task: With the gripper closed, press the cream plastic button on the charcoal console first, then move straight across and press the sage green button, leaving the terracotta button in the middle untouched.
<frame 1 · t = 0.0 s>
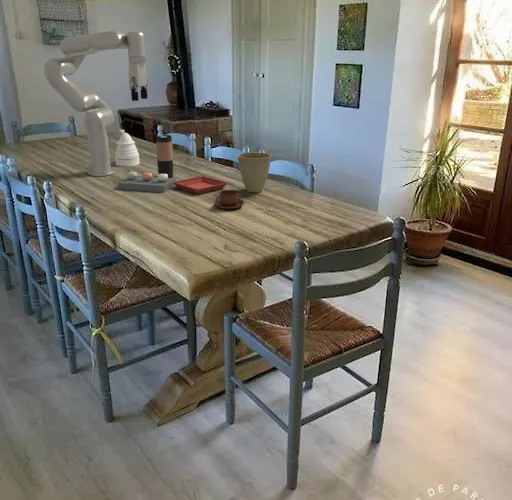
hand: (139, 99, 243), 37 cm above the table, tool pointing down, fingers open, 9 cm apart
cream button: (162, 177, 235), point 5 cm above the table, slide at 0.0 cm
travel mug: (166, 177, 256), on the table
honey pot: (127, 164, 284), on the table
sage button: (132, 175, 238), point 5 cm above the table, slide at 0.0 cm
plant pot: (254, 190, 234), on the table
plant saucer: (200, 189, 237), on the table
terracotta button: (147, 176, 236), point 5 cm above the table, slide at 0.0 cm
console: (148, 186, 238), on the table
cup and saucer: (229, 207, 211), on the table
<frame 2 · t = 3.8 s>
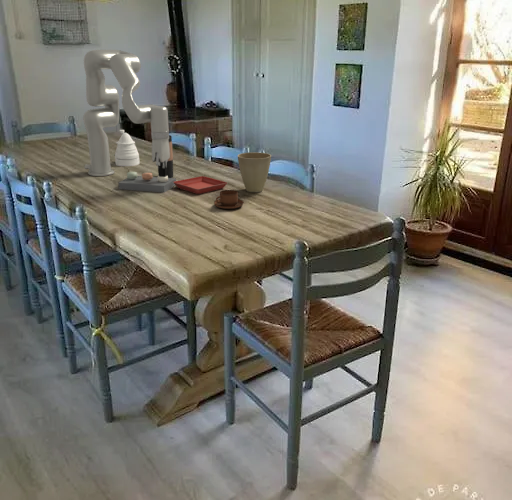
hand: (163, 176, 235), 5 cm above the table, tool pointing down, fingers closed
cream button: (162, 178, 235), point 4 cm above the table, slide at 0.6 cm, touching gripper
everything else where it was.
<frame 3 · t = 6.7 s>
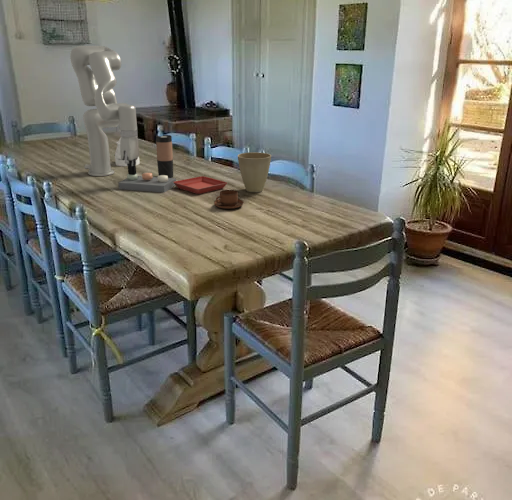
hand: (132, 174, 238), 5 cm above the table, tool pointing down, fingers closed
cream button: (162, 178, 235), point 4 cm above the table, slide at 0.7 cm
sage button: (132, 176, 238), point 4 cm above the table, slide at 0.7 cm, touching gripper
everything else where it was.
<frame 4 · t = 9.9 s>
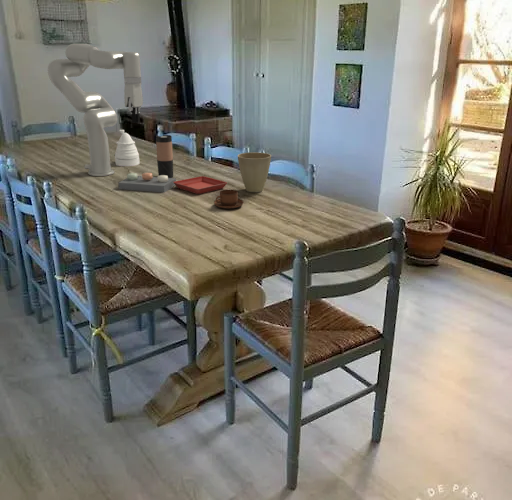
hand: (136, 122, 241), 27 cm above the table, tool pointing down, fingers closed
sage button: (132, 176, 238), point 4 cm above the table, slide at 0.7 cm
everything else where it was.
at the end: cream button slide at 0.7 cm; sage button slide at 0.7 cm; terracotta button slide at 0.0 cm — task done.
